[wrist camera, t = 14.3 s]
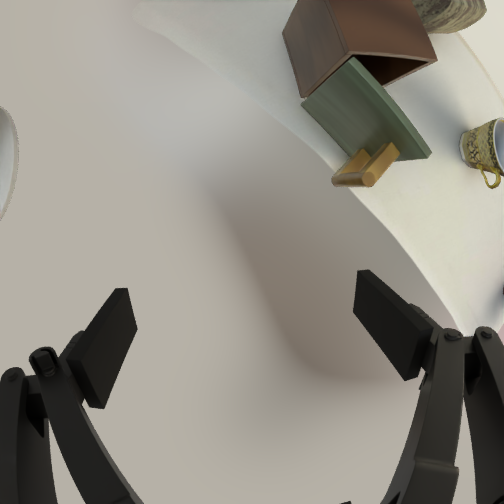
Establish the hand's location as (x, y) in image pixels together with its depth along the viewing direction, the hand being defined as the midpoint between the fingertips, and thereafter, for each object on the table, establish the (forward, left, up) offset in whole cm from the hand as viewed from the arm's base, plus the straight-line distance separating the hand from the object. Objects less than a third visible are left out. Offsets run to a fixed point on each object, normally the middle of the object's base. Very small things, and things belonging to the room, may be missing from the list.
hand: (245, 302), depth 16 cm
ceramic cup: (+7, +45, -23) cm, 51 cm away
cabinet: (-16, +25, -22) cm, 37 cm away
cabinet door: (-5, +16, -22) cm, 28 cm away
